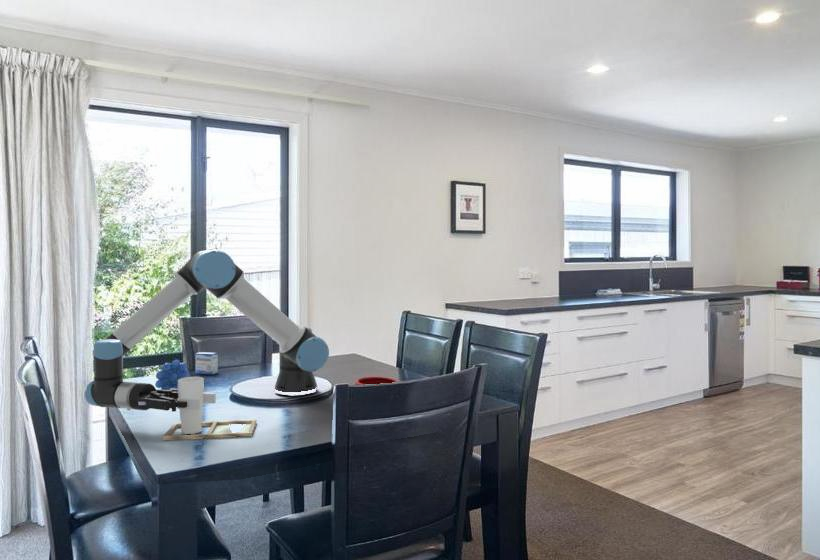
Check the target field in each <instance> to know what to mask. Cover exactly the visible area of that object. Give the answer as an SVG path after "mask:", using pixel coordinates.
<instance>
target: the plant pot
mask: <svg viewBox="0 0 820 560" xmlns="http://www.w3.org/2000/svg"><path fill="white" fill-rule="evenodd" d="M392 382H399V381H398V380H397V379H395V378H391V377H384V376H366V377H365V376H364V377H360V378H357V379H356V380H355V385H365V384H376V385H378V384H380V383H392ZM355 385H354V386H355Z"/></svg>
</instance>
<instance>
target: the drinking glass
mask: <svg viewBox="0 0 820 560" xmlns="http://www.w3.org/2000/svg"><path fill="white" fill-rule="evenodd" d="M204 384H205V383H204V377H202V376H188V377H185V378H181V379H179V380H178V398H184V399H198V400H200V410H189V409H179V416H180V417H179V419H180V423H181V427H180V432H181V434H182V435H186V434H191V435H195V434H196V433H197V434H200V432H201V431H202V430H203V428H202V427H203V426H202V422H203V407H204V403H203V398H204V393H205V387H204V386H205V385H204Z"/></svg>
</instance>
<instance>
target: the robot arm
mask: <svg viewBox="0 0 820 560" xmlns="http://www.w3.org/2000/svg"><path fill="white" fill-rule="evenodd" d="M244 275H245V274H244V270H242V269H241V267H239V266H238V265H237V264H236V263H235V262H234V260H233V258H232V257H231V256H230V255H229V254H227V252H224V251H223V250H219V249H215V248H214V249H211V248H210V249H206V250H204V249H203V250H200V251H198V252H196V253H195V254H194V255H192V256H191V257H190V258H189V259H188V261H187V262H186V263H185V264H183V266H182V267H181V268H180V269H179V270H177V272H176V273H175V275H174V278H173V279H172V280H170V282H169V283H168V284H167V285H166V286H164V287H163V288H162V289H161V290H159V292H157V293H156V294H155V295H154V296H153V297H151V298H150V299H149V300H148V301H147V302H146V303H144V305H142V306H141V307H140V308H139V309H138V310H137V311H136V312H134V313H133V314H131V316H130V317H129V318H128V319H126V320H125V321H124V322H123V323H122V324H120V326H118V327H117V328H116V329H115V330H114V331H112V333H110V334H109V335H107V337H105V339H100V340H96V341H95V342H94V343H93V350H92V353H93V354H92V356H93V375H94V376H93V380H92V381H90V382H88V383H87V386H86V388H85V391H84V398H85V400H86V402H87V404H89V405H91V406H95V407H100V408H114V409H126V410H127V411H129V412H130V411H131V410H136V411H147V410H150V409H152V410H162V411H170V409H171V412H173V413H174V412H177V409H189V410H200V400H198V399H184V398H178V389H174V388H169V390H163V389H161V388H156V386H154V385H153V384H151V383H147V382H144V383H143V382H134V381H124V373H123V372H124V371H123V370H124V359H123V358H124V356H125V355H126V354H127V353H129V352H130V350H131V349H133V347H135V346H136V345H137V344H139V342H141V341H142V340H143V339H144V338H145V337H146V336H147V335H148V334H149V333H151V332H152V331H153V330H154V329H155V328H156V327H158V326H159V325H160V324H161V323H162V322H163V321H164V320H165V319H167V317H169V316H170V315H171V314H172V313H173V312H174V311H175V310H177V309H178V308H179V307H180V306H182V304H183V303H184V302H186V301H187V300H188V299H189V298H191V296H193V295H194V296H195V295H198V294H200V293H201V292H202V291H203V290H205V289H206V290H207V291H208V292H209V293H211V294H212V295H213V296H214V297H216V299H225V300H226V301H228V302H229V303H230V304H231V305H232V306H233V307H234V308H236V309H237V310H238V311H240V313H242V314H243V315H244V316H245V317H246V318H247V319H249V320H250V321H251V322H252V323H253V324H254V325H256V326H257V327H258V328H259V329H260V330H262V332H264V333H265V334H266V335H268V337H270V338H271V339H272V340H273V341H275V342H276V344H278V346H279V348H278V349H279V353H278V354H279V356H278V357H279V358H278V359H279V370H278V371H279V373H278V374H277V378H276V382H275V385H274V390H275V389H276V390H278V391H282V392H301V391H308V390H312V389H315V388H316V387H317V388H318V384H317V382H316V377H315V374H314V372H316V371H319V370H320V369H322V368H323V367H324V366H325V365H326V363H327V362H328V360H329V356H330V349H329V348H330V347H329V346H328V344H327V342H326V341H325V340H324V339H322V338H321V337H318V336H316V334H314V333H313V329H312V328H310V327H309V328H308V327H306V326H305V325H304V324H300V325H297V324H296V323H295V322H294V321H293V320H292V319H291V318H289V317H288V316H287V315H286V314H285V313H284V312H282V311H281V310H280V309H279V308H278V307H277V306H276V305H275V304H274V303H273V302H271V301H270V300H269V298H267V297H266V296H265V295H263V294H262V293H261V292H260V291H259V290H258V289H257V288H256V287H254V286H253V285H252V284H251V283H250V282H249V281H248V280H247V279H245V276H244ZM216 394H217V393H214V392H204V398H203V404H205V403H206V404H216V396H217V395H216Z"/></svg>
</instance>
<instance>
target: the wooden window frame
mask: <svg viewBox="0 0 820 560" xmlns="http://www.w3.org/2000/svg"><path fill="white" fill-rule="evenodd" d="M256 422H258V421H257V419H255V418H254V419H239V420H237V419H236V420H215V421H214V420H212V421H202V427H209V429H208V431H207V433H197V434H191V435H186V434H182V435H181V434H180V435H179V434H178V435H171V434H173V433H174V432H175V431H176V430H177V428H181V422H174V423H173V424H172V425H171V427H170V428H169V429H168V430H167V432H165V433H164V435H162V441H163V440H171V441H179V440H178V439H191V440H204V439H203V438H211V439H224V438H223V437H231V438H237V437H236V436H251V437H253V435H252V434H254V432H255V429H256V426H255V425H257V423H256ZM229 424H230V425H231V424H242V425H243V424H246V425H245V426H246V427H245V426H244V427H243V428H242V429H241V430H240V432H236V433H232V431H231V430H230V425H229ZM228 425H229V426H228ZM254 428H255V429H254ZM175 429H176V430H175ZM174 430H175V431H174ZM253 431H254V432H253ZM234 436H235V437H234Z"/></svg>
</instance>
